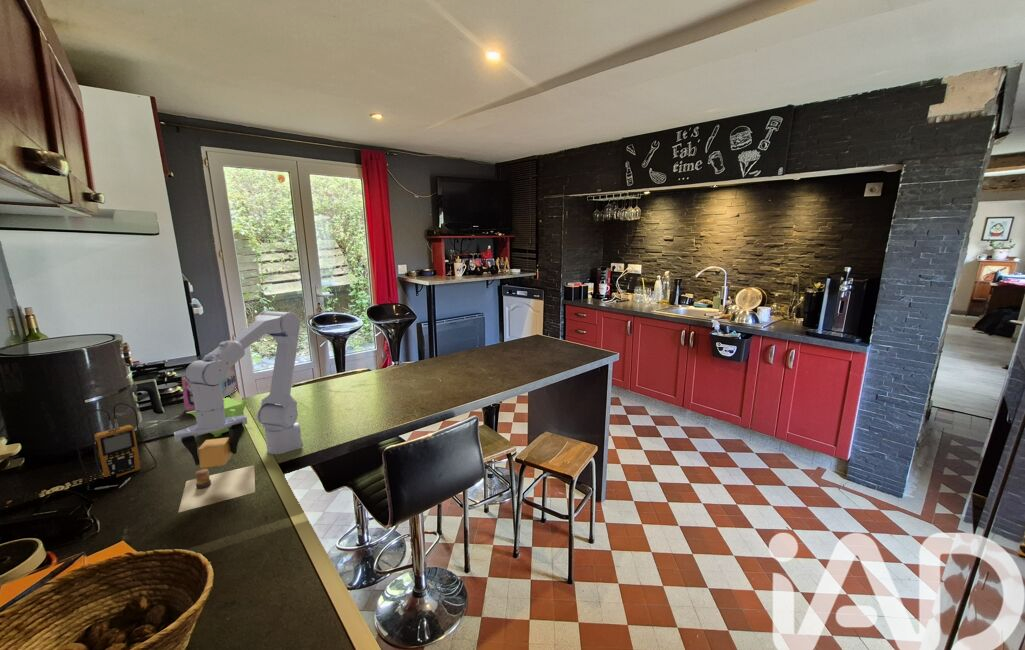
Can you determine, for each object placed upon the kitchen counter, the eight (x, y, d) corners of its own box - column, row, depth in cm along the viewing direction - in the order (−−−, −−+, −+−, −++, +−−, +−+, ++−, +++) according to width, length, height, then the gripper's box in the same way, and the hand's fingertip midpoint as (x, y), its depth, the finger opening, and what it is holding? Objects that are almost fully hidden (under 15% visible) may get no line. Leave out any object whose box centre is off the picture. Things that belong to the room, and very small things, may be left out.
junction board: (254, 469, 112) (252, 452, 111) (255, 497, 100) (253, 477, 98) (187, 486, 104) (184, 467, 103) (179, 518, 91) (175, 497, 90)
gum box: (204, 411, 150) (200, 378, 148) (181, 412, 149) (177, 378, 146) (238, 390, 173) (234, 360, 171) (218, 390, 172) (214, 361, 170)
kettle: (238, 438, 130) (234, 406, 128) (187, 443, 126) (183, 410, 124) (255, 419, 144) (251, 390, 142) (210, 423, 140) (206, 393, 138)
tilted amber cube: (231, 454, 103) (229, 437, 102) (225, 464, 99) (223, 446, 98) (208, 457, 102) (205, 440, 101) (200, 468, 97) (197, 449, 96)
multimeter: (93, 498, 98) (79, 423, 94) (82, 485, 103) (68, 413, 99) (168, 471, 110) (157, 404, 106) (154, 461, 115) (144, 396, 112)
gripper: (239, 396, 105) (244, 442, 108) (168, 411, 95) (176, 462, 97) (247, 403, 101) (252, 451, 103) (173, 419, 90) (181, 473, 93)
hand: (216, 457), depth 100 cm, fingers closed on tilted amber cube, 7 cm apart
